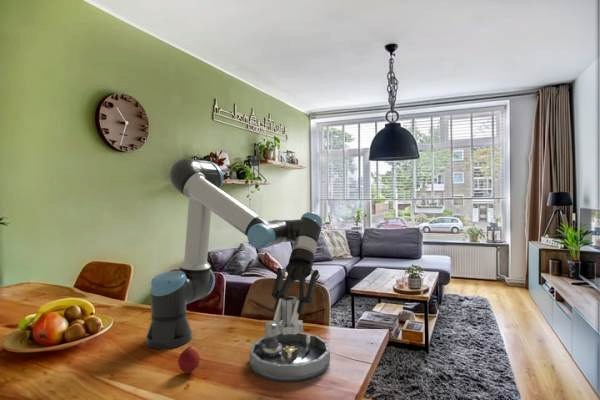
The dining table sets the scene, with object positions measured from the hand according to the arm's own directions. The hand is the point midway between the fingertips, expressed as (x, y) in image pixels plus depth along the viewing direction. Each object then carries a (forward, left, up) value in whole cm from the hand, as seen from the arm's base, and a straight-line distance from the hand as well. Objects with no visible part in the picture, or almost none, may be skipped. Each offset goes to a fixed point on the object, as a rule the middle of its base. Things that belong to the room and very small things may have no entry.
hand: (284, 322), depth 99 cm
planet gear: (+1, +4, -3) cm, 5 cm away
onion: (-28, +4, -16) cm, 32 cm away
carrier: (+1, +10, -16) cm, 19 cm away
